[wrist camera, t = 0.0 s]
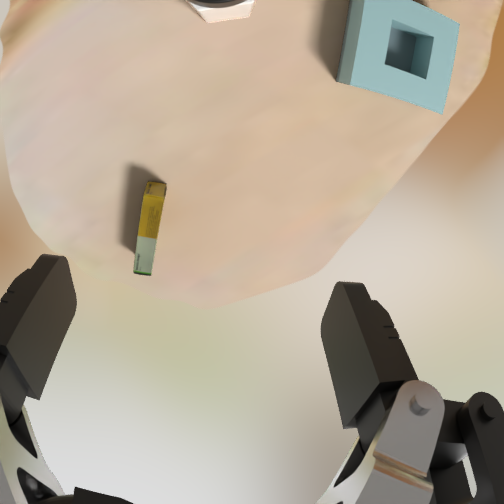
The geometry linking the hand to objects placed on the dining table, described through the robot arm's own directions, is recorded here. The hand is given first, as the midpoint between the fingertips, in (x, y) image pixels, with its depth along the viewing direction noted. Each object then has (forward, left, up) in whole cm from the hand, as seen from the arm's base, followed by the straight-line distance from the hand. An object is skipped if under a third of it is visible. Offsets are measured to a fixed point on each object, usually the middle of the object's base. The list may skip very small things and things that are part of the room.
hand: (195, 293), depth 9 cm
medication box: (+15, -8, -31) cm, 35 cm away
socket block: (-12, +18, -30) cm, 37 cm away
